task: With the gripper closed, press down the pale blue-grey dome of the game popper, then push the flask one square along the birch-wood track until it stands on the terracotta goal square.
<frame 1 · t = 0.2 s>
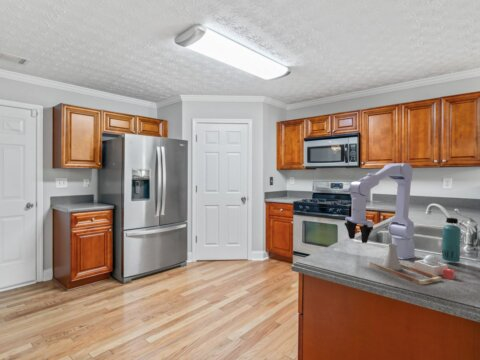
hand: (358, 240, 124), 10 cm above the countertop, tool pointing down, fingers open, 7 cm apart
dome housing: (430, 271, 115), on the countertop
flask: (392, 268, 118), on the countertop
red die: (448, 277, 108), on the countertop
beverage bottle: (450, 263, 125), on the countertop
dome: (430, 260, 114), point 4 cm above the countertop, slide at 0.0 cm
game track: (401, 271, 114), on the countertop
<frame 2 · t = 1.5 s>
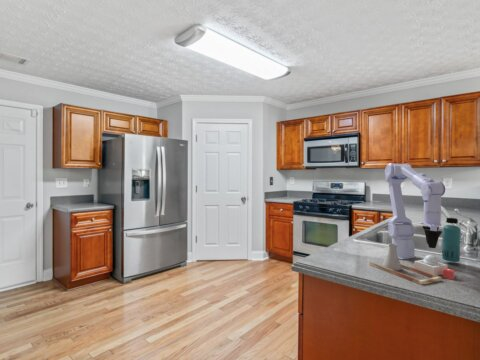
hand: (431, 245, 114), 10 cm above the countertop, tool pointing down, fingers open, 6 cm apart
nothing on the countertop moved.
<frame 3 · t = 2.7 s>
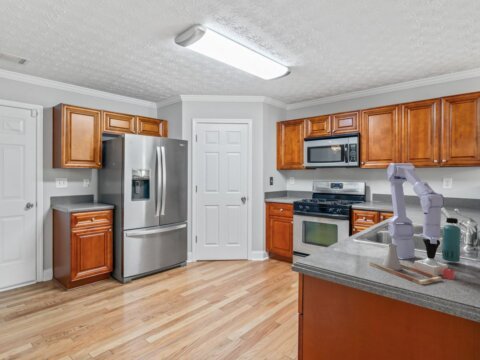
hand: (430, 257, 114), 6 cm above the countertop, tool pointing down, fingers closed, pressing on dome
dome: (430, 263, 114), point 3 cm above the countertop, slide at 1.1 cm, touching gripper
everything else where it was.
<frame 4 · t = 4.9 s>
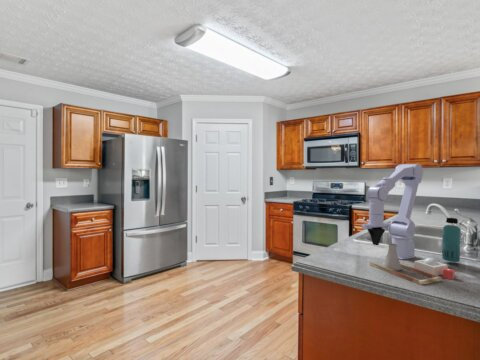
hand: (375, 244, 126), 8 cm above the countertop, tool pointing down, fingers closed
dome: (430, 263, 114), point 3 cm above the countertop, slide at 1.2 cm
everything else where it was.
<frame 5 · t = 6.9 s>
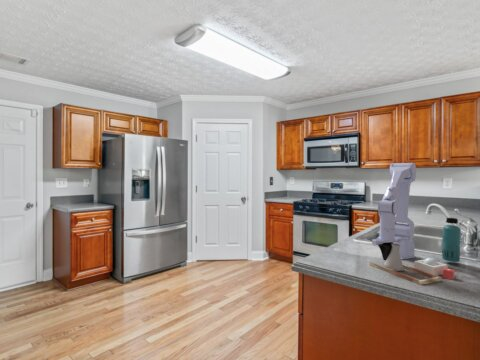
hand: (386, 260, 121), 2 cm above the countertop, tool pointing down, fingers closed, pressing on flask
flask: (393, 268, 118), on the countertop, touching gripper
everything else where it was.
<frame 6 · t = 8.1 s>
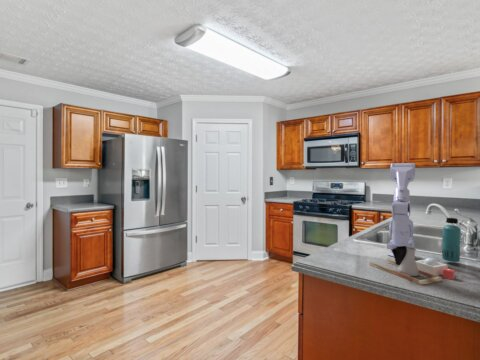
hand: (399, 264, 115), 2 cm above the countertop, tool pointing down, fingers closed, pressing on flask
flask: (407, 273, 112), on the countertop, touching gripper
everything else where it was.
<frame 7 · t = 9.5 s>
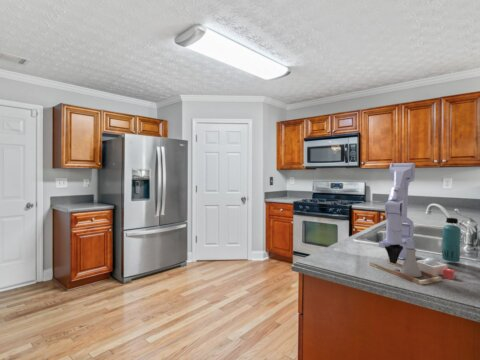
hand: (393, 262, 118), 2 cm above the countertop, tool pointing down, fingers closed
flask: (410, 275, 111), on the countertop
everything else where it was.
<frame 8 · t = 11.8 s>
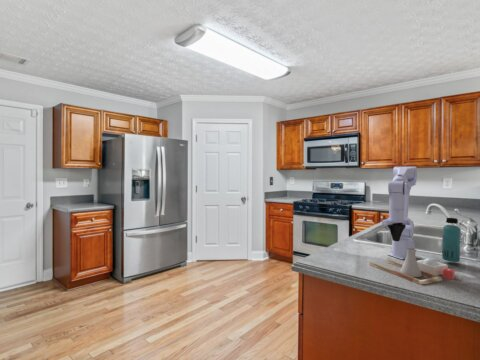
hand: (395, 240, 122), 10 cm above the countertop, tool pointing down, fingers closed
nothing on the countertop moved.
at the end: dome slide at 1.2 cm; flask 1.4 cm from the target spot, on the countertop; flask tilted 0° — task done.
